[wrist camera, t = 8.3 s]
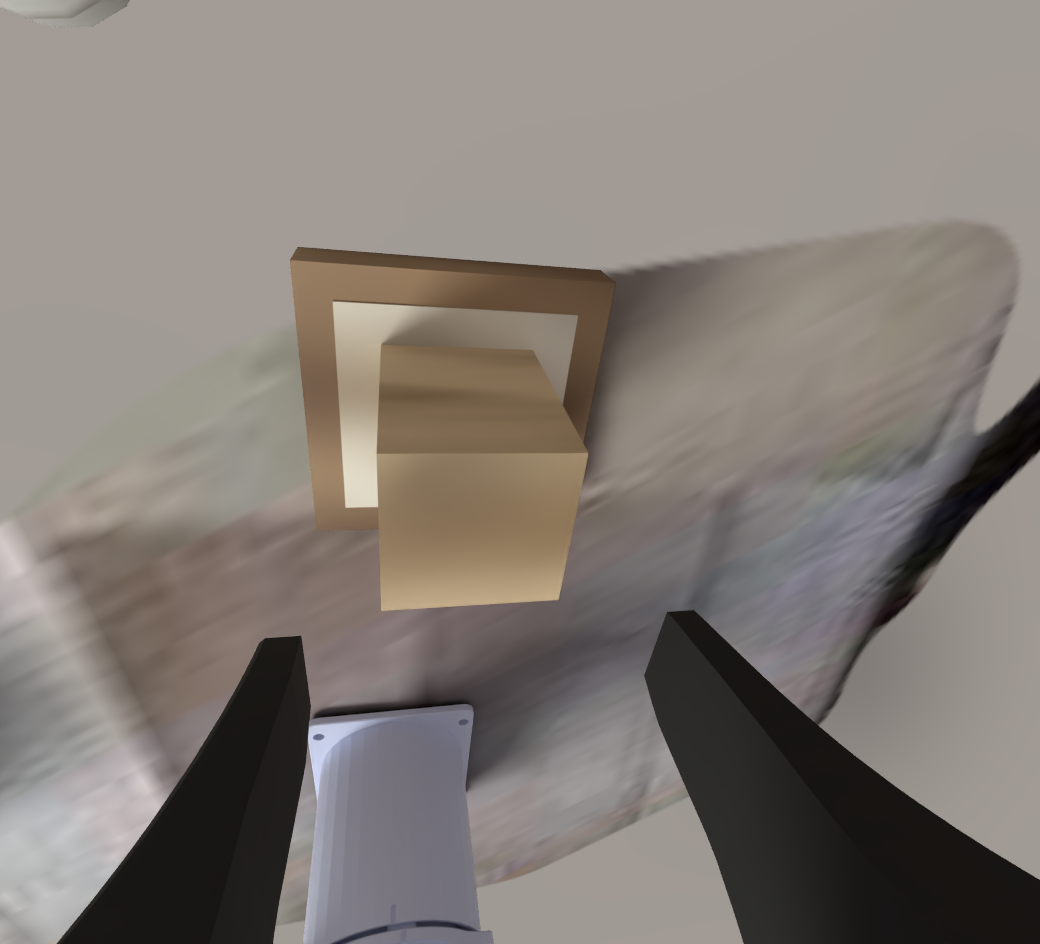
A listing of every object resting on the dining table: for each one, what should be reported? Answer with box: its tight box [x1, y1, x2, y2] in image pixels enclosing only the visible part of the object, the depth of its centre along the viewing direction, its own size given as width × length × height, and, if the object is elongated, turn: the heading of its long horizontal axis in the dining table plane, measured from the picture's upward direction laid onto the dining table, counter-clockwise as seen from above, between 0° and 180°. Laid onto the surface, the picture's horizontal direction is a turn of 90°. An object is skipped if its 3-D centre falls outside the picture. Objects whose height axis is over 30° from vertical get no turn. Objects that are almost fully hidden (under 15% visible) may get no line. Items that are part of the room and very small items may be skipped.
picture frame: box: [290, 247, 616, 531], centre depth 19 cm, size 9×9×2 cm
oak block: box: [376, 344, 589, 611], centre depth 16 cm, size 4×4×6 cm
